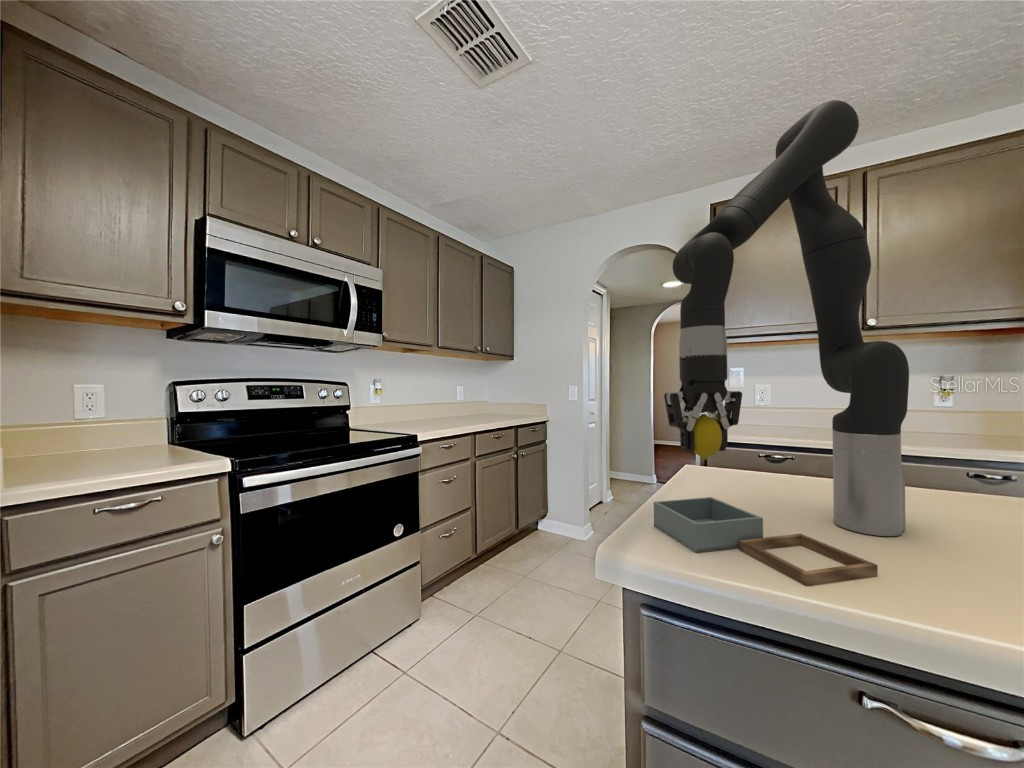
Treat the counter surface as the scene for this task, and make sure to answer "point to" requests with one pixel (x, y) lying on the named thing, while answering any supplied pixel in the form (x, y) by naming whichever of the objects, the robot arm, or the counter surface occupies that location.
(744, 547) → the tray
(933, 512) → the counter surface
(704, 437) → the lemon
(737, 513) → the bin
